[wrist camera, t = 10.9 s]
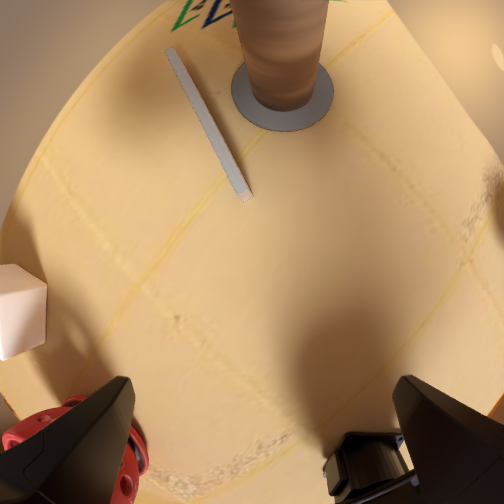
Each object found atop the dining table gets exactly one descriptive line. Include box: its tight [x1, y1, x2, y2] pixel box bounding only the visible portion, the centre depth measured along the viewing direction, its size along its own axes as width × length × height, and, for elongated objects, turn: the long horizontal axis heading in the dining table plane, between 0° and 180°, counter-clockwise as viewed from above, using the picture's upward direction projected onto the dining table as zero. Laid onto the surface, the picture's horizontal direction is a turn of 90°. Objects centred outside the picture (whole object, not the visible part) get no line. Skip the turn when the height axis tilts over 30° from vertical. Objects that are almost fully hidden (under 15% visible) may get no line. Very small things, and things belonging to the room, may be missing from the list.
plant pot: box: [2, 396, 149, 504], centre depth 16 cm, size 13×13×12 cm
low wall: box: [164, 47, 253, 202], centre depth 18 cm, size 14×1×3 cm, turn 26°
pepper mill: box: [230, 0, 329, 112], centre depth 11 cm, size 5×5×14 cm
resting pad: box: [231, 62, 334, 132], centre depth 19 cm, size 8×8×1 cm
